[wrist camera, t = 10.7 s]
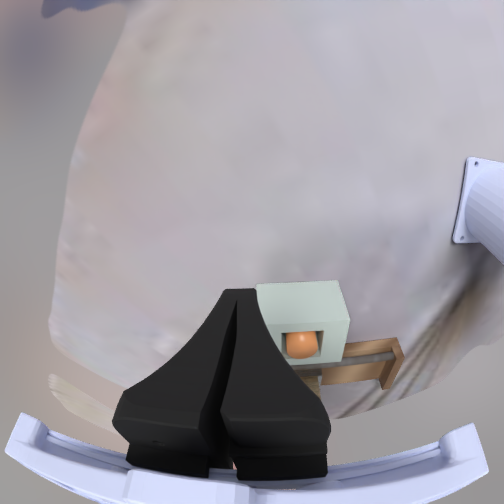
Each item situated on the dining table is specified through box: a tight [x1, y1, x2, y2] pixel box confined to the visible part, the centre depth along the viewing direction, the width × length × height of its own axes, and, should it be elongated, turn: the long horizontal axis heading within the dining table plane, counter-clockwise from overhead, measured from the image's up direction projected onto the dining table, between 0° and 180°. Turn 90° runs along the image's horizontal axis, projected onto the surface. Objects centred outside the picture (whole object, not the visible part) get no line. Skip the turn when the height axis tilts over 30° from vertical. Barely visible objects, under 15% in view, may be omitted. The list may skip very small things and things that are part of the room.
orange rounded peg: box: [286, 331, 318, 359], centre depth 22 cm, size 2×2×3 cm
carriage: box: [294, 369, 322, 400], centre depth 27 cm, size 5×4×5 cm
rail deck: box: [290, 338, 405, 390], centre depth 29 cm, size 15×6×3 cm, turn 94°
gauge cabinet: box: [256, 280, 350, 365], centre depth 24 cm, size 7×5×5 cm
